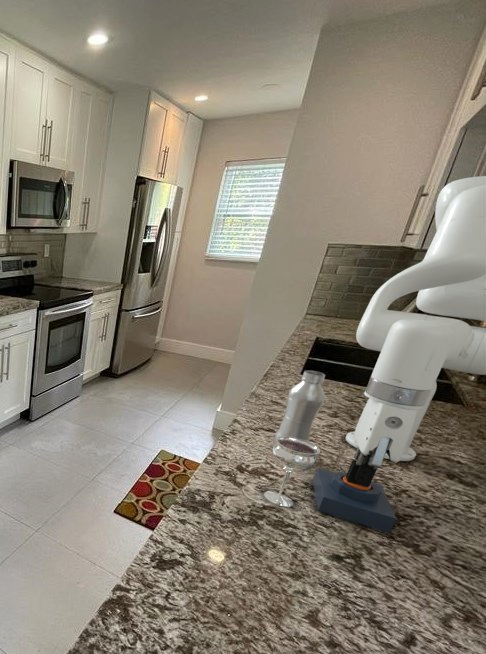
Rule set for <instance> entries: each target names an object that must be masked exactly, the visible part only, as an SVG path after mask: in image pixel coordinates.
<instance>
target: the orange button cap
mask: <svg viewBox="0 0 486 654" xmlns="http://www.w3.org/2000/svg"><path fill="white" fill-rule="evenodd" d="M342 481H344V482H345V483H346V484H348V485H350V486H352V487H354V488H358V489H362V490H370V488H371V485H370V486H369V487H365V486H361V485H357V484H354V483H350V482H348V481H347V479H346V476H345V477H343V479H342Z"/></svg>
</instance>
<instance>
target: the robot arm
mask: <svg viewBox="0 0 486 654" xmlns="http://www.w3.org/2000/svg"><path fill="white" fill-rule="evenodd" d="M434 222H435V229H436V232H435V234H434V237H433V239H432V241H431V243H430V245H429V247H428V248H427V251H426V253H425V255H424V258H423V259H422V260H421V261H420V262H418V263H416V264H413V265H412V266H410V267H408V268H405V269H404V270H402V271H401V272H399V273H396V274H395V275H394V276H392V277H390V278H389V279H388V280H387V281H386V282H384V283H383V284H382V285H381V286H380V287H379V288H378V289H377V290H376V291H375V293H374V294H373V296H372V297H371V298H370V300H369V303H368V305H367V306H366V309H365V311H364V312H363V315H362V317H361V319H360V321H359V324H358V326H357V330H356V333H355V338H356V342H357V343H358V345H360V346H361V347H362V348H365V349H367V350H370V351H371V350H372V351H375V352H376V351H377V352H380V353H379V356H378V358H377V361H376V363H375V366H374V368H373V370H372V373H371V375H370V377H369V381H368V384H367V385H366V388H365V390H364V392H363V395H364V396H365V397H366V398H368V399H367V400H366V404H365V406H364V407H363V410H362V412H361V415H360V416H359V419H358V421H357V424H356V426H355V430H354V431H350V432H348V433H347V434H346V436H345V441H346V442H347V443H348V444H349V445H350V446H352V447H354V448H356V450H355V453H354V456H353V459H352V460H351V463H350V465H349V468H348V470H347V472H346V473H347V475H346V479H347V481H348V482H350V483H354V484H357V485H361V486H365V487H369V486H370V484H371V482H373V479H374V477H375V475H376V472H377V471H378V469H380V468H381V467H382V463H383V461H384V459H385V460H386V459H387V460H390V461H391V462H392V463H393V464H394V463H398V462H410V461H413V460H415V458H416V456H417V453H416V450H414V449H413V447H410V446H411V444H412V442H413V440H414V438H415V436H416V434H417V431H418V429H419V428H420V425H421V423H422V421H423V419H424V417H425V415H426V412H427V411H428V408H429V406H430V404H431V402H432V399H433V398H434V396H435V394H436V391H437V386H438V385H437V384H438V383H437V379H438V376H439V375H440V372H441V370H442V369H446V370H452V371H455V372H456V371H457V372H462V373H466V374H467V373H468V374H473V375H481V376H482V375H483V376H486V327H481V326H473V325H470V324H469V323H467V322H466V321H463V320H461V319H468V320H476V321H482V322H484V323H485V324H486V175H481V176H471V177H464V178H460V179H456V180H453V181H451V182H449V183H447V184H446V185H444V187H443V188H441V190H440V192H439V194H438V196H437V200H436V203H435V211H434ZM415 292H418V293H417V296H416V300H415V304H416V305H415V306H416V307H417V309H418V310H420V311H422V312H424V313H428V314H429V315H428V314H423V313H417V312H416V313H415V312H409V311H402V310H401V311H400V310H392V309H389V307H390V306H391V305H392V304H393V302H394V301H396V300H397V299H399V298H401V297H404V296H406V295H408V294H411V293H415ZM430 314H432V315H430ZM435 315H438V316H435ZM451 317H453V318H451ZM457 318H460V319H457Z"/></svg>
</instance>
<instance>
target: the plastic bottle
mask: <svg viewBox="0 0 486 654" xmlns="http://www.w3.org/2000/svg"><path fill="white" fill-rule="evenodd" d="M325 378H326V374H325V373H323V372H321V371H316V370H308V369H307V370H304V371H303V374H302V376H301V381H300V382H298V383H297V384H294V385H293V386H292V387H291V388H290V389H289V390H288V394H287V401H286V408H285V411H284V414H283V415H284V416H283V419H282V422H281V424H280V426H279V428H278V430H277V431H276V433H275V434H274V437H273V439H272V445H273V446H274V445H275V444H276V443H277V441H276V438H277V437H280V436H289V437H295V438H299V439H302V440H305V441H308V442H310V438H311V437H310V436H311V432H312V428H313V424H314V423H315V420H316V418H317V416H318V414H319V411H320V410H321V409H322V407H323V405H324V403H325V401H326V394H325V391H324V389H323V387H322V384H324V382H325V381H324V380H325Z"/></svg>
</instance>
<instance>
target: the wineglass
mask: <svg viewBox="0 0 486 654" xmlns="http://www.w3.org/2000/svg"><path fill="white" fill-rule="evenodd" d="M276 441H277V443H276V444H275V445H273V446H272V449H271V453H272V458H273V460H274V461H275V462H276V464H278V466H280V467H281V468H282V469H283V471H285V472H284V475H283V478H282V482H281V485H280V488H279V491H272V490H267V491H264V493H263V496H264V498H265V499H267V500H268V501H269V502H271V503H272V504H275V505H278V506H281V507H292V506H293V505H294V501H293V500H292V498H290V497H289V496H287V495H285V494H283V491H284V489H285V488H286V484H287V482H288V480H289V478H290V475H291V474H292V473H302V472H306V471H309V470H312V469H313V468H314V467H315V466H316V464H317V462H318V455H319V454H320V453H321V449H320V447H318V446H317V445H316V444H314V443H312V442H311V441H309V442H308V441H305V440H302V439H299V438H295V437H289V436H280V437H277V438H276Z"/></svg>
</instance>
